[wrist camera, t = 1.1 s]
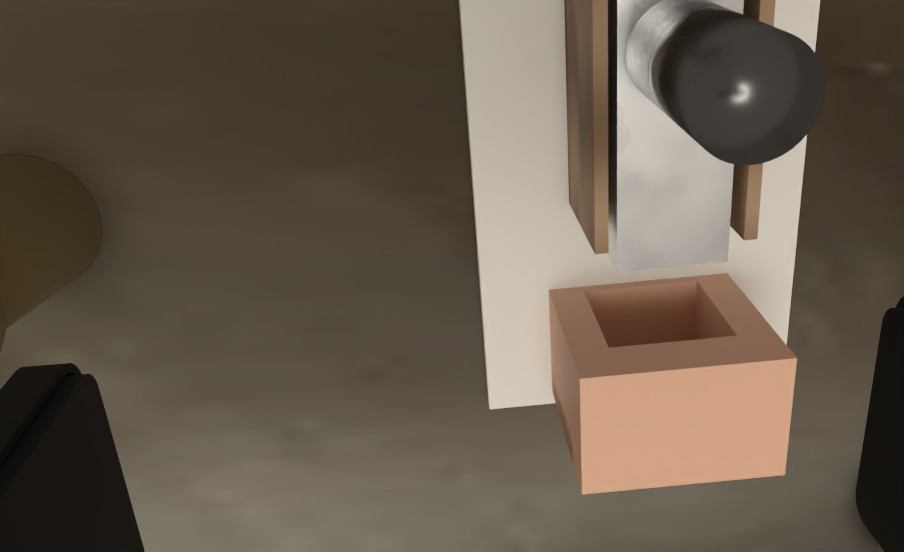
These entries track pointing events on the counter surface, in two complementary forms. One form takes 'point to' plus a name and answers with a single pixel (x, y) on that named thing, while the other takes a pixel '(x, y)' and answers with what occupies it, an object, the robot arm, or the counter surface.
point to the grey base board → (547, 194)
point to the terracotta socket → (669, 383)
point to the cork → (41, 233)
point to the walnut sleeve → (591, 125)
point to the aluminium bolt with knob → (695, 121)
